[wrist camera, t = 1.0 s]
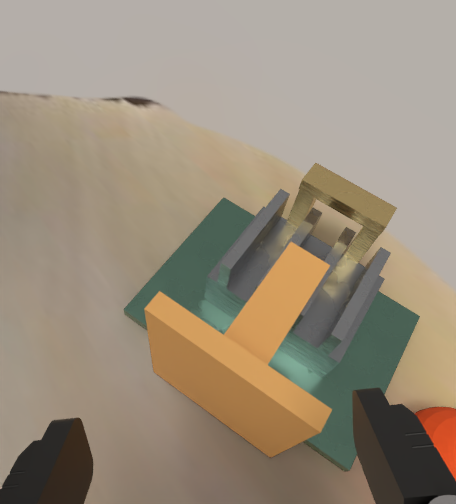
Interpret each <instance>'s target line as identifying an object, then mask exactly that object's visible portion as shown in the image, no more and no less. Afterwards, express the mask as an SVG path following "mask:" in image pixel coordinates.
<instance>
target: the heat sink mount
mask: <svg viewBox="0 0 456 504" xmlns="http://www.w3.org/2000/svg"><path fill="white" fill-rule="evenodd" d="M299 189H300V190H299V193H298V195H297V198H296V200H295V203H294V205H293V208H292V210H291V213H290V215H289V218H288V220H285V219H284V218H282V217H281V216H282V214H283V211H284V208H285V206H286V203H287V200H288V198H289V195H290V194H289V193H287V192H285V191H284V190H282V189H280V190H279V192H278V193H277V194H276V195H275V197H274V198H273V199H272V200H271V201H270V203H269V204H268V205H267V206H266V208H265V207H263V208H262V209H261V210H260V211H259V213H258V214H257V215H256V216H254V215H252V214H250V213H249V212H247V211H245V210H244V209H242V208H240V207H239V206H237V205H235V204H234V203H232V202H230V201H229V200H227V199H226V198H223V199H222V200H221V201H220V202H219V203H218V204H217V205H216V207H215V208H214V209H213V210H212V211H211V212H210V213H209V214H208V215H207V217H206V218H205V219H204V220H203V221H202V222H201V223H200V224H199V226H198V227H197V228H196V229H195V230H194V231H193V232H192V233H191V235H190V236H189V237H188V238H187V239H186V240H185V241H184V242H183V244H182V245H181V246H180V247H179V248H178V249H177V250H176V251H175V252H174V254H173V255H172V256H171V257H170V258H169V259H168V260H167V261H166V263H165V264H164V265H163V266H162V267H161V268H160V269H159V270H158V272H157V273H156V274H155V275H154V276H153V277H152V278H151V279H150V281H149V282H148V283H147V284H146V285H145V286H144V287H143V288H142V289H141V291H140V292H139V293H138V294H137V295H136V296H135V297H134V298H133V300H132V301H131V302H130V303H129V304H128V305H127V306H126V307H125V309H124V313H125V315H126V316H128V317H129V318H131V319H132V320H133V321H135V322H136V323H138V324H139V325H140V326H142V327H143V328H145V329H146V330H147V324H146V317H145V310H144V308H145V307H146V306H147V305H148V304H149V303H150V301H151V300H152V299H153V298H154V297H155V296H156V295H157V293H158V292H159V291H160V292H162V293H163V294H165V295H166V296H168V297H169V298H171V299H172V300H173V301H175V302H176V303H178V304H179V305H181V306H182V307H184V308H185V309H187V310H188V311H190V312H191V313H192V314H194V315H195V316H197V317H198V318H200V319H201V320H203V321H204V322H206V323H207V324H208V325H210V326H211V327H213V328H214V329H216V330H217V331H219V332H220V333H222V334H223V335H224V334H225V332H226V331H227V330H228V328H229V327H230V325H231V324H232V323H233V321H234V320H235V318H236V317H237V316H238V314H239V313H240V311H241V310H242V309H243V307H244V306H245V305H246V303H247V302H248V300H249V299H250V298H251V296H252V295H253V293H254V292H255V291H256V289H257V288H258V286H259V285H260V284H261V282H262V281H263V279H264V278H265V277H266V275H267V274H268V273H269V271H270V270H271V268H272V267H273V266H274V264H275V263H276V261H277V260H278V259H279V257H280V256H281V254H282V253H283V252H284V250H285V249H286V248H287V246H288V245H289V243H290V242H293V243H294V244H296V245H298V246H299V247H301V248H303V249H304V250H306V251H307V252H309V253H311V254H312V255H314V256H316V257H317V258H319V259H321V260H322V261H324V262H326V263H327V264H329V265H330V267H329V268H328V270H327V272H326V273H325V275H324V276H323V278H322V279H321V281H320V283H319V284H318V286H317V287H316V289H315V291H314V292H313V294H312V295H311V297H310V299H309V300H308V302H307V303H306V305H305V306H304V308H303V310H302V311H301V313H300V314H299V316H298V318H297V319H296V321H295V322H294V324H293V325H292V327H291V329H290V330H289V332H288V333H287V335H286V337H285V338H284V340H283V341H282V343H281V344H280V346H279V348H278V349H277V351H276V352H275V354H274V356H273V357H272V359H271V360H270V362H269V363H268V366H270V367H271V368H273V369H274V370H276V371H277V372H278V373H280V374H281V375H283V376H284V377H286V378H287V379H289V380H290V381H292V382H293V383H294V384H296V385H297V386H299V387H300V388H302V389H303V390H305V391H306V392H308V393H309V394H311V395H312V396H313V397H315V398H316V399H318V400H319V401H321V402H322V403H324V404H325V405H327V406H328V407H329V408H331V409H332V411H331V413H330V415H329V417H328V419H327V421H326V423H325V425H324V427H323V429H322V431H321V433H319V434H317V435H315V436H313V437H311V438H309V439H307V440H305V441H303V442H304V443H306V444H307V445H308V446H310V447H311V448H313V449H314V450H315V451H317V452H318V453H320V454H321V455H322V456H324V457H325V458H327V459H328V460H329V461H331V462H332V463H334V464H335V465H336V466H338V467H339V468H341V469H342V470H343V471H349V470H350V468H351V466H352V464H353V462H354V460H355V458H356V455H357V451H356V448H355V443H354V437H353V408H352V393H353V390H359V389H369V388H380V389H381V390H382V392H383V394H385V392H386V390H387V387H388V385H389V383H390V381H391V379H392V376H393V374H394V372H395V370H396V368H397V365H398V363H399V361H400V359H401V357H402V354H403V352H404V350H405V348H406V346H407V343H408V341H409V339H410V337H411V335H412V333H413V330H414V328H415V326H416V324H417V322H418V319H419V317H420V316H418V315H417V314H415V313H413V312H412V311H410V310H408V309H407V308H405V307H404V306H402V305H400V304H399V303H397V302H395V301H394V300H392V299H390V298H389V297H387V296H385V295H384V294H382V293H380V292H379V291H378V290H379V288H380V287H381V285H382V283H383V281H384V278H382V277H381V276H379V274H380V272H381V270H382V268H383V266H384V265H385V263H386V261H387V259H388V257H389V256H390V254H391V253H390V252H388V251H387V250H385V249H383V248H381V247H380V249H379V250H378V251H377V252H376V254H375V255H374V256H373V257H372V259H371V260H370V261H369V262H368V264H367V265H366V266H365V267H364V266H362V265H361V264H359V263H358V262H359V261H360V260H361V258H362V257H363V256H364V255H365V253H366V252H367V251H368V249H369V248H370V247H371V245H372V244H373V243H374V241H375V240H376V239H377V237H378V236H379V235H380V234H381V233H382V232H383V230H384V229H385V228H386V226H387V224H388V223H389V221H390V219H391V217H392V216H393V214H394V212H395V210H396V209H397V208H396V207H394V206H393V205H391V204H389V203H387V202H385V201H384V200H382V199H380V198H378V197H376V196H375V195H373V194H371V193H369V192H367V191H366V190H364V189H362V188H360V187H358V186H357V185H355V184H353V183H351V182H349V181H348V180H346V179H344V178H342V177H341V176H339V175H337V174H335V173H333V172H332V171H330V170H328V169H326V168H324V167H323V166H321V165H319V164H317V163H315V164H314V165H313V167H312V168H311V169H310V170H309V172H308V173H307V174H306V176H305V177H304V178H303V179H302V182H301V184H300V187H299ZM316 199H317V200H319V201H321V202H323V203H324V204H326V205H328V206H329V207H331V208H333V209H335V210H336V211H338V212H340V213H342V214H343V215H345V216H347V217H349V218H350V219H352V220H354V221H355V222H357V223H359V224H361V225H362V226H363V227H362V229H361V230H360V232H359V233H358V235H357V236H356V238H355V239H354V240H353V242H352V243H351V245H350V246H349V248H348V249H347V251H346V252H345V254H343V253H344V251H345V249H346V248H347V246H348V245H349V243H350V241H351V240H352V238H353V237H354V235H355V233H356V232H354V231H352V230H351V229H349V228H347V227H346V228H345V230H344V231H343V233H342V234H341V236H340V237H339V239H338V240H337V242H336V244H335V245H334V247H333V248H332V247H331V246H329V245H327V244H326V243H324V242H322V241H321V240H319V239H317V238H316V237H314V236H312V235H311V234H312V232H313V230H314V228H315V226H316V224H317V222H318V220H319V218H320V217H321V215H322V213H321V212H320V211H318V210H316V209H314V208H312V207H313V205H314V203H315V201H316ZM147 331H148V330H147Z"/></svg>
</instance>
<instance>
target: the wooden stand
mask: <svg viewBox="0 0 456 504" xmlns="http://www.w3.org/2000/svg"><path fill="white" fill-rule="evenodd" d="M329 267H330V265H329V264H327V263H326V262H324V261H322V260H321V259H319V258H317V257H316V256H314V255H312V254H311V253H309V252H307V251H306V250H304V249H303V248H301V247H299V246H298V245H296V244H294V243H293V242H290V243H289V245H288V246H287V248H286V249H285V250H284V252H283V253H282V254H281V256H280V257H279V259H278V260H277V261H276V263H275V264H274V266H273V267H272V268H271V270H270V271H269V273H268V274H267V275H266V277H265V278H264V279H263V281H262V282H261V284H260V285H259V286H258V288H257V289H256V291H255V292H254V293H253V295H252V296H251V298H250V299H249V300H248V302H247V303H246V305H245V306H244V307H243V309H242V310H241V311H240V313H239V314H238V316H237V317H236V318H235V320H234V321H233V323H232V324H231V325H230V327H229V328H228V330H227V331H226V332H225V334H224V335H223V334H222V333H220V332H219V331H217V330H216V329H214V328H213V327H211V326H210V325H208V324H207V323H206V322H204V321H203V320H201V319H200V318H198V317H197V316H195V315H194V314H192V313H191V312H190V311H188V310H187V309H185V308H184V307H182V306H181V305H179V304H178V303H176V302H175V301H173V300H172V299H171V298H169V297H168V296H166V295H165V294H163V293H162V292H160V291H159V292H158V293H157V295H156V296H155V297H154V298H153V299H152V300H151V301H150V303H149V304H148V305H147V306H146V307H145V308H144V310H145V317H146V324H147V330H148V337H149V344H150V350H151V357H152V364H153V370H154V372H155V373H156V374H157V375H159V376H160V377H161V378H163V379H164V380H165V381H167V382H168V383H170V384H171V385H172V386H174V387H175V388H176V389H178V390H179V391H180V392H182V393H183V394H184V395H186V396H187V397H189V398H190V399H191V400H193V401H194V402H195V403H197V404H198V405H199V406H201V407H202V408H203V409H205V410H206V411H208V412H209V413H210V414H212V415H213V416H214V417H216V418H217V419H218V420H220V421H221V422H222V423H224V424H225V425H227V426H228V427H229V428H231V429H232V430H233V431H235V432H236V433H237V434H239V435H240V436H241V437H243V438H244V439H246V440H247V441H248V442H250V443H251V444H252V445H254V446H255V447H256V448H258V449H259V450H260V451H262V452H263V453H265V454H266V455H267V456H269V457H270V458H271V457H273V456H275V455H277V454H279V453H281V452H283V451H285V450H287V449H289V448H291V447H293V446H295V445H297V444H299V443H301V442H303V441H305V440H307V439H309V438H311V437H313V436H315V435H317V434H319V433H321V431H322V429H323V427H324V425H325V423H326V421H327V419H328V417H329V415H330V413H331V411H332V409H331V408H329V407H328V406H327V405H325V404H324V403H322V402H321V401H319V400H318V399H316V398H315V397H313V396H312V395H311V394H309V393H308V392H306V391H305V390H303V389H302V388H300V387H299V386H297V385H296V384H294V383H293V382H292V381H290V380H289V379H287V378H286V377H284V376H283V375H281V374H280V373H278V372H277V371H276V370H274V369H273V368H271V367H270V366H268V363H269V362H270V360H271V359H272V357H273V356H274V354H275V352H276V351H277V349H278V348H279V346H280V344H281V343H282V341H283V340H284V338H285V337H286V335H287V333H288V332H289V330H290V329H291V327H292V325H293V324H294V322H295V321H296V319H297V318H298V316H299V314H300V313H301V311H302V310H303V308H304V306H305V305H306V303H307V302H308V300H309V299H310V297H311V295H312V294H313V292H314V291H315V289H316V287H317V286H318V284H319V283H320V281H321V279H322V278H323V276H324V275H325V273H326V272H327V270H328V268H329Z"/></svg>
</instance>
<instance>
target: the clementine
mask: <svg viewBox="0 0 456 504" xmlns="http://www.w3.org/2000/svg"><path fill="white" fill-rule="evenodd" d="M415 415H416V416H417V417H418V419H419V420H420V422H421V424H422V425H423V427H424V429H425V430H426V433H427V434H428V435H429V437H430V439H431V440H432V442H433V443H434V447H436V448H437V450H438V452H439V453H440V455H441V457H442V458H443V460H444V462H445V463H446V465H447V467H448V468H449V470H450V472H451V473H452V475H453V477H454V478H455V480H456V409H454V408H451V407H432V408H427V409H424V410H420V411H418V412H416V413H415Z"/></svg>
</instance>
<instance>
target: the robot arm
mask: <svg viewBox="0 0 456 504" xmlns="http://www.w3.org/2000/svg"><path fill="white" fill-rule="evenodd" d="M352 408H353V437H354V443H355V448H356V451H357V455H358V457H359V460H360V463H361V465H362V468H363V471H364V474H365V476H366V479H367V482H368V484H369V487H370V490H371V492H372V495H373V498H374V500H375V503H376V504H456V480H455V478H454V477H453V475H452V473H451V472H450V470H449V468H448V467H447V465H446V463H445V462H444V460H443V458H442V457H441V455H440V453H439V452H438V450H437V448H436V447H434V443H433V442H432V440H431V439H430V437H429V435H428V434H427V433H426V430H425V429H424V427H423V425H422V424H421V422H420V420H419V419H418V417H417V416H416V415H415V414H414V413H412V412H411V411H410V410H409V409H407V408H406V407H405V406H404V405H402V404H398V405H389V403H388V401H387V399H386V397H385V396H384V394H383V392H382V390H381V389H380V388H369V389H359V390H353V393H352ZM92 475H93V458H92V454H91V451H90V447H89V444H88V440H87V437H86V433H85V430H84V427H83V423H82V421H81V419H80V418H71V419H62V420H53V421H52V422H51V423H50V424H49V426H48V428H47V430H46V432H45V434H44V436H43V438H42V440H38V441H33V442H32V443H31V444H30V445H29V446H28V447H27V448H26V449H25V450H24V451H23V452H22V453H21V454H20V455H19V457H18V458H17V460H16V462H15V464H14V466H13V467H12V469H11V471H10V475H8V476H7V478H6V480H5V482H4V484H3V485H2V489H0V504H84V501H85V498H86V495H87V492H88V489H89V486H90V483H91V480H92Z"/></svg>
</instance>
